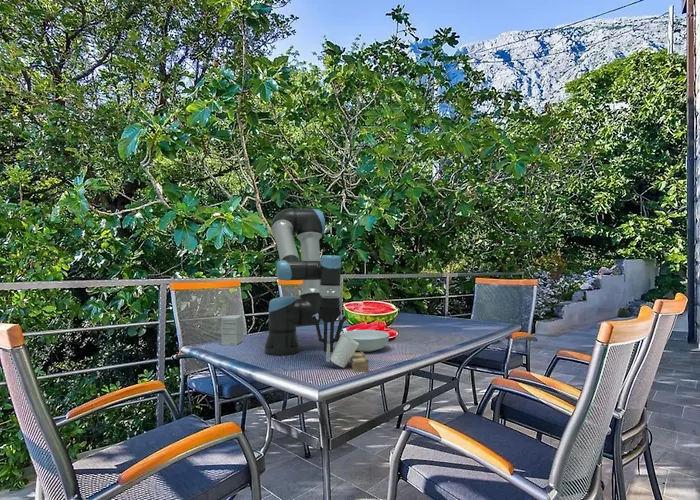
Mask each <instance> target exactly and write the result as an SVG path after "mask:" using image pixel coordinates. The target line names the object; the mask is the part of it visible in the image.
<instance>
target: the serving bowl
mask: <svg viewBox="0 0 700 500" xmlns="http://www.w3.org/2000/svg"><path fill="white" fill-rule="evenodd" d="M342 334H344V335H346V336H348V337H350V338H352V339H353V340H355V341H356V342H358V343H359V346H358V348H357V349H356V351H357V352H361V351H363V353H368V352H375V351H378V350H381V349H383V348H385V346H386V345H388V342H389V339H390V333H388V332H387V331H382V330H378V329H377V330H376V329H354V330H349V331H345V332H342Z"/></svg>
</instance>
